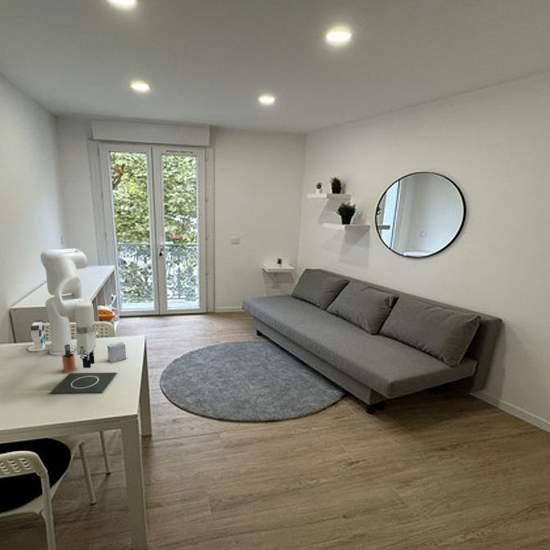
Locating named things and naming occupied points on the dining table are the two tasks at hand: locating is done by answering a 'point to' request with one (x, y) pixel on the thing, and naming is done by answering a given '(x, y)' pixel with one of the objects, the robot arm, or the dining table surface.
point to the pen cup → (68, 363)
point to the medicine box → (116, 352)
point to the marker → (67, 351)
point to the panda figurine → (38, 336)
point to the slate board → (83, 383)
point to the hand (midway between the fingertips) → (89, 365)
